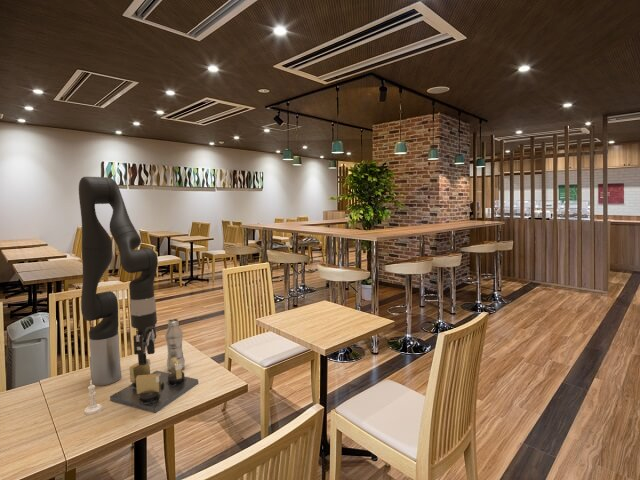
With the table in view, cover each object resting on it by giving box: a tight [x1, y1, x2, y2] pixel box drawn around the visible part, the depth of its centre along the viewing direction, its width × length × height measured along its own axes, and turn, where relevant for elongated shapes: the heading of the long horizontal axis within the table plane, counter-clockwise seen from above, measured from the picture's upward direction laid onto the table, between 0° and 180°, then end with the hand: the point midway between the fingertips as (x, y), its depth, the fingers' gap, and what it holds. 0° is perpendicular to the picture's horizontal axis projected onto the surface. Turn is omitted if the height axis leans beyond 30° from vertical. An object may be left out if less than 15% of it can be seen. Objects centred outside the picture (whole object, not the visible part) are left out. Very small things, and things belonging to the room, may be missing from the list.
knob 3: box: [168, 357, 186, 384], centre depth 133 cm, size 7×6×8 cm
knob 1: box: [128, 358, 151, 387], centre depth 132 cm, size 7×6×8 cm
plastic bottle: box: [164, 318, 185, 371], centre depth 145 cm, size 6×7×20 cm
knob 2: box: [136, 373, 161, 402], centre depth 122 cm, size 7×6×8 cm
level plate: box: [109, 370, 199, 413], centre depth 129 cm, size 20×20×3 cm
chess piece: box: [84, 379, 103, 416], centre depth 118 cm, size 5×5×10 cm
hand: (147, 359), depth 121 cm, fingers open, 8 cm apart
